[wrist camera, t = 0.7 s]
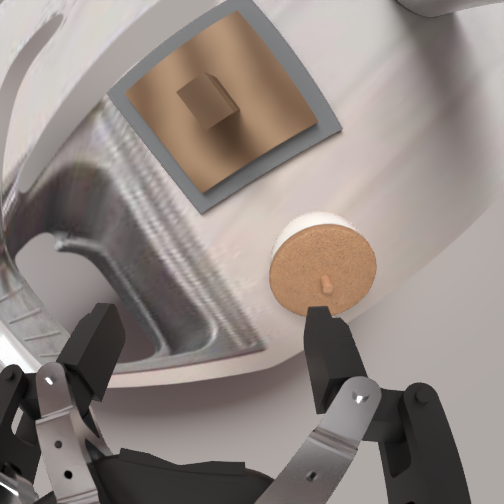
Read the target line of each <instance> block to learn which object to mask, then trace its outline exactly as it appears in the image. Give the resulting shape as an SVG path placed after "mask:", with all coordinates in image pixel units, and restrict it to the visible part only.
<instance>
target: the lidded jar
mask: <svg viewBox="0 0 504 504" xmlns="http://www.w3.org/2000/svg"><path fill="white" fill-rule="evenodd" d="M375 274H376V258H375V255H374V252H373V250H372V248H371V247H370V245H369V243H368V242H367V241H366V240H365V238H364V237H363V236H362V234H361V233H360V232H359V231H358V230H357V228H356V227H355V226H354V225H352V224H351V223H350V222H349V221H347V220H346V219H344V218H343V217H341V216H339V215H336V214H333V213H329V212H321V211H316V212H309V213H306V214H303V215H300V216H298V217H296V218H295V219H293V220H292V221H290V222H289V223H288V224H287V225H286V226H285V227H284V228H283V229H282V231H281V232H280V233H279V235H278V237H277V239H276V241H275V244H274V246H273V250H272V255H271V266H270V286H271V290H272V292H273V295H274V296H275V298H276V299H277V301H278V302H279V303H280V304H281V305H282V306H283V307H285V308H286V309H287V310H289V311H291V312H293V313H296V314H298V315H301V316H306V317H307V311H308V307H309V306H328V308H329V310H330V313H331V316H332V315H335V314H338V313H341V312H343V311H345V310H347V309H349V308H351V307H352V306H354V305H355V304H357V303H358V302H359V301H360V300H361V299H362V298H363V297H364V296H365V295H366V294H367V292H368V291H369V289H370V287H371V286H372V283H373V281H374V278H375Z"/></svg>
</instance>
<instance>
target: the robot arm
mask: <svg viewBox="0 0 504 504" xmlns="http://www.w3.org/2000/svg"><path fill="white" fill-rule="evenodd" d="M397 1H398V2H399V3H400V4H402V5H403V6H404V7H406V8H407V9H409V10H410V11H412V12H414V13H416V14H419V15H421V16H426V17H436V16H440V15H443V14H447V13H451V12H455V11H459V10H464V9H468V8H473V7H477V6H483V5H488V4H494V3H501V2H504V0H397ZM124 343H125V330H124V327H123V324H122V322H121V319H120V316H119V313H118V311H117V308H116V306H115V305H114V304H107V303H97V304H96V306H95V307H94V309H93V310H92V312H91V313H90V314H87V315H86V316H85V317H84V318H82V319H81V320H80V321H79V323H78V325H77V326H76V328H75V331H73V333H72V334H71V338H69V339H68V341H67V343H66V344H65V346H64V348H63V350H62V351H61V353H60V355H59V357H58V358H57V360H56V362H50V363H47V364H45V365H43V366H42V367H41V368H40V369H39V370H38V372H37V373H24V372H23V371H22V369H21V368H20V367H19V366H18V365H15V364H12V365H9V366H7V367H6V368H4V369H3V370H2V372H1V373H0V504H326V502H327V501H328V499H329V498H330V496H331V495H332V493H333V492H334V490H335V489H336V487H337V486H338V484H339V482H340V481H341V479H342V478H343V476H344V474H345V473H346V471H347V469H348V468H349V466H350V464H351V462H352V461H353V459H354V457H355V455H356V453H357V450H358V449H357V448H358V446H359V443H360V441H361V440H363V441H373V442H378V445H379V450H380V455H381V460H382V465H383V471H384V477H385V483H386V488H387V496H388V503H389V504H471V500H470V495H469V491H468V486H467V482H466V478H465V475H464V471H463V467H462V464H461V461H460V457H459V453H458V450H457V447H456V444H455V441H454V438H453V435H452V432H451V429H450V426H449V423H448V421H447V418H446V415H445V412H444V410H443V407H442V405H441V402H440V400H439V397H438V395H437V393H436V391H435V390H434V389H433V388H432V387H431V386H429V385H428V384H425V383H414V384H412V385H410V386H409V387H408V388H407V389H406V390H405V391H397V390H387V389H383V388H380V387H379V385H378V384H377V383H376V382H375V381H373V380H372V379H370V378H368V376H367V374H366V371H365V368H364V365H363V363H362V360H361V357H360V355H359V352H358V349H357V347H356V346H355V341H354V339H353V338H352V334H351V331H350V329H349V326H348V325H347V324H346V323H345V322H344V321H343V320H342V319H341V318H332V316H331V313H330V310H329V308H328V306H309V307H308V311H307V317H306V324H305V330H304V350H305V355H306V359H307V365H308V370H309V375H310V380H311V386H312V391H313V396H314V402H315V407H316V413H317V414H325V415H324V417H323V418H322V420H321V421H320V423H319V424H318V426H317V427H316V428H315V430H313V431H312V432H311V433H310V435H309V436H308V437H307V439H306V440H305V441H304V443H303V444H302V446H301V447H300V448H299V450H298V451H297V452H296V454H295V455H294V456H293V458H292V459H291V460H290V462H289V463H288V464H287V466H286V467H285V468H284V469H283V470H282V472H281V473H280V474H279V475H278V477H277V478H276V479H275V480H274V479H273V478H271V477H269V476H268V475H265V474H263V473H261V472H258V471H255V470H251V469H247V468H245V462H221V461H210V462H202V463H195V464H187V465H176V464H173V463H171V462H168V461H166V460H163V459H161V458H158V457H156V456H153V455H151V454H149V453H144V452H139V451H133V450H129V449H124V448H121V450H120V454H117V455H113V453H112V452H111V450H110V449H109V447H108V446H107V444H106V443H105V441H104V438H103V436H102V433H101V431H100V429H99V426H98V423H97V421H96V418H95V416H94V413H93V410H92V408H91V406H90V403H91V400H95V401H99V402H102V399H103V396H104V394H105V391H106V388H107V386H108V383H109V380H110V378H111V375H112V373H113V370H114V368H115V365H116V363H117V360H118V358H119V355H120V353H121V351H122V348H123V346H124ZM18 407H20V409H21V410H22V411H23V415H22V417H21V420H20V423H19V426H18V428H17V431H16V434H15V435H14V434H13V432H12V429H11V425H12V421H13V419H14V416H15V414H16V411H17V409H18ZM41 452H42V456H43V459H44V463H45V466H46V470H47V473H48V476H49V479H50V482H51V485H52V488H53V491H52V492H50V493H48V494H47V495H45V496H44V497H42V498H40V499H39V496H38V494H37V493H36V492H35V491H34V487H33V484H34V479H35V475H36V471H37V467H38V463H39V460H40V456H41Z"/></svg>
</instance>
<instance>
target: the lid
mask: <svg viewBox="0 0 504 504" xmlns="http://www.w3.org/2000/svg"><path fill="white" fill-rule="evenodd" d="M124 94H125V95H126V97H127V98H128V99H129V101H130V102H131V103H132V104H133V106H134V107H135V108H136V110H137V111H138V112H139V114H140V115H141V116H142V117H143V119H144V120H145V121H146V123H147V124H148V125H149V127H150V128H151V129H152V130H153V132H154V133H155V134H156V136H157V137H158V138H159V140H160V141H161V142H162V143H163V145H164V146H165V147H166V149H167V150H168V151H169V152H170V154H171V155H172V156H173V158H174V159H175V160H176V161H177V163H178V164H179V165H180V167H181V168H182V169H183V171H184V172H185V173H186V174H187V176H188V177H189V178H190V180H191V181H192V182H193V183H194V185H195V186H196V187H197V189H198V190H199V191H200V192H201V194H202V193H204V192H205V191H207V190H208V189H210V188H211V187H213V186H214V185H215V184H217V183H218V182H220V181H221V180H223V179H225V178H226V177H228V176H229V175H231V174H232V173H234V172H235V171H237V170H238V169H240V168H241V167H243V166H245V165H246V164H248V163H249V162H251V161H253V160H254V159H256V158H257V157H259V156H261V155H262V154H264V153H265V152H267V151H269V150H270V149H272V148H274V147H275V146H277V145H279V144H280V143H282V142H284V141H286V140H287V139H289V138H291V137H292V136H294V135H296V134H298V133H299V132H301V131H303V130H305V129H306V128H308V127H310V126H312V125H314V124H315V123H317V122H319V121H318V120H317V118H316V117H315V115H314V113H313V112H312V110H311V109H310V107H309V105H308V104H307V102H306V101H305V99H304V98H303V96H302V95H301V93H300V92H299V90H298V89H297V87H296V86H295V84H294V83H293V81H292V80H291V78H290V77H289V75H288V74H287V73H286V71H285V70H284V68H283V67H282V66H281V64H280V63H279V61H278V60H277V59H276V57H275V56H274V55H273V53H272V52H271V51H270V49H269V48H268V47H267V45H266V44H265V43H264V42H263V40H262V39H261V38H260V37H259V35H258V34H257V33H256V32H255V30H254V29H253V28H252V27H251V26H250V24H249V23H248V22H247V21H246V20H245V18H244V17H243V16H242V15H241V14H240V13H239V12H238V10H236V11H235V12H233V13H231V14H229V15H228V16H226V17H224V18H222V19H221V20H219V21H218V22H216V23H214V24H213V25H211V26H209V27H208V28H206V29H205V30H203V31H202V32H200V33H199V34H197V35H196V36H194V37H193V38H191V39H190V40H189V41H187V42H186V43H184V44H183V45H182V46H180V47H179V48H178V49H176V50H175V51H173V52H172V53H171V54H170V55H168V56H167V57H166V58H164V59H163V60H162V61H161V62H159V63H158V64H157V65H156V66H155V67H153V68H152V69H151V70H150V71H149V72H147V73H146V74H145V75H144V76H143V77H142V78H140V79H139V80H138V81H137V82H136V83H135V84H134V85H133V86H132V87H131V88H129V89H128V90H127V91H126V92H125V93H124Z"/></svg>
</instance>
